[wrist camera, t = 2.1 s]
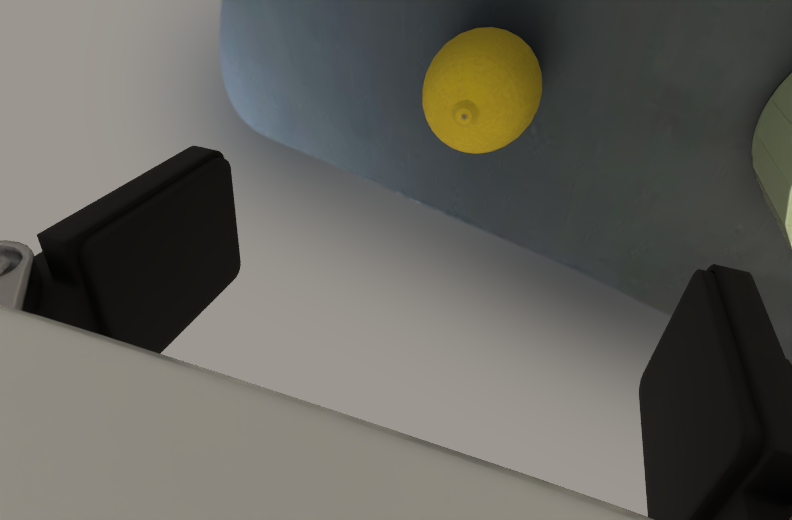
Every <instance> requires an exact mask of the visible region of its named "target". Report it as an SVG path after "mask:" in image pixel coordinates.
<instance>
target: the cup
mask: <svg viewBox="0 0 792 520" xmlns="http://www.w3.org/2000/svg"><path fill="white" fill-rule="evenodd" d="M752 165H753V169H754V173H755V177H756V179H757V181H758V183H759V186H760V189H761V192H762V194H763V196H764V198H765V200H766V202H767V204H768V206H769V208H770V210H771V212H772V214H773V216H774V218H775V220H776V222H777V224H778V226H779V228H780V230H781V231H782V233H783V235H784V237H785V239H786V241H787V243H788V245H789V247H790V249H791V251H792V73H791V74H790V75H789V76H788V77H787V78H786V79H785V80H784V81H783V82H782V84H781V85H780V86H779V87H778V88H777V90H776V91H775V92H774V94H773V95H772V96H771V98H770V99H769V101H768V102H767V104H766V106H765V108H764V110H763V111H762V113H761V115H760V118H759V120H758V123H757V125H756V128H755V133H754V137H753V142H752Z"/></svg>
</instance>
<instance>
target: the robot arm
mask: <svg viewBox="0 0 792 520" xmlns="http://www.w3.org/2000/svg"><path fill="white" fill-rule="evenodd" d="M37 237H38V239H39V242H40V245H41V248H42V251H43V252H41V253H39V254H38V255H36V256H34V254H33V252H32V250H31V249H30V248H29V247H28V246H27V245H24V244H22V243H19V242H14V241H0V520H792V365H791V363H790V362H789V360H787V359H786V358H785V356H784V353H783V351H782V348H781V346H780V343H779V341H778V339H777V336H776V334H775V331H774V329H773V326H772V324H771V321H770V319H769V316H768V314H767V312H766V309H765V307H764V304H763V302H762V299H761V297H760V294H759V292H758V289H757V287H756V284H755V282H754V280H753V277H752V275H751V274H750V273H749V272H745V271H741V270H737V269H732V268H728V267H723V266H719V265H715V264H713V265H711V266H710V267H709V268H708V269H707V271H705V270H700V269H698V270H696V272H695V273H694V274H693V276H692V278H691V280H690V282H689V284H688V286H687V288H686V290H685V292H684V294H683V296H682V298H681V300H680V302H679V303H678V305H677V307H676V309H675V311H674V313H673V315H672V317H671V319H670V322H669V323H668V325H667V327H666V329H665V331H664V333H663V335H662V337H661V339H660V341H659V343H658V345H657V347H656V349H655V351H654V353H653V355H652V357H651V360H650V361H649V363H648V365H647V367H646V369H645V371H644V373H643V375H642V378H641V381H640V387H639V400H640V413H641V427H642V441H643V454H644V467H645V481H646V495H647V508H648V517H646V516H643V515H640V514H637V513H635V512H632V511H629V510H627V509H624V508H621V507H618V506H615V505H612V504H610V503H607V502H604V501H601V500H598V499H595V498H592V497H589V496H586V495H584V494H581V493H578V492H575V491H572V490H569V489H566V488H563V487H561V486H558V485H555V484H552V483H549V482H546V481H543V480H540V479H538V478H535V477H531V476H529V475H525V474H523V473H519V472H517V471H514V470H511V469H508V468H504V467H502V466H499V465H496V464H493V463H490V462H487V461H484V460H481V459H478V458H475V457H472V456H469V455H465V454H463V453H460V452H457V451H454V450H451V449H448V448H445V447H442V446H439V445H436V444H433V443H430V442H427V441H424V440H421V439H418V438H415V437H412V436H409V435H406V434H403V433H400V432H397V431H394V430H391V429H388V428H385V427H382V426H379V425H376V424H373V423H370V422H367V421H364V420H361V419H358V418H355V417H352V416H349V415H346V414H343V413H340V412H337V411H333V410H331V409H327V408H325V407H321V406H318V405H315V404H312V403H309V402H306V401H303V400H300V399H297V398H294V397H291V396H288V395H285V394H282V393H279V392H276V391H273V390H269V389H267V388H264V387H260V386H257V385H254V384H251V383H248V382H245V381H242V380H239V379H236V378H233V377H230V376H226V375H224V374H221V373H217V372H215V371H212V370H208V369H205V368H202V367H199V366H196V365H193V364H190V363H187V362H184V361H180V360H177V359H174V358H171V357H168V356H165V355H162V354H160V353H161V352H162V351H163V350H164V349H165V348H166V347H167V346H168V345H169V344H170V343H171V342H172V341H173V340H174V339H175V338H176V337H177V336H178V335H179V334H180V333H181V332H182V331H183V330H184V329H185V328H186V327H187V326H188V325H189V324H190V323H191V322H192V321H193V320H194V319H195V318H196V317H197V316H198V315H199V314H200V313H201V312H202V311H203V310H204V309H205V308H206V307H207V306H208V305H209V304H210V303H211V302H212V301H213V300H214V299H215V298H216V297H217V296H218V295H219V294H220V293H221V292H222V291H223V290H224V289H225V288H226V287H227V286H228V285H229V284H230V283H231V282H232V281H233V280H234V279H235V278H236V277H237V275H238V273H239V270H240V253H239V243H238V234H237V225H236V215H235V205H234V195H233V186H232V176H231V167H230V164H229V162H228V161H227V160H225V159H224V157H223V154H222V153H221V152H219V151H215V150H211V149H207V148H203V147H198V146H191V147H189V148H187V149H186V150H184V151H182V152H180V153H179V154H177V155H175V156H173V157H172V158H170V159H168V160H166V161H165V162H163V163H161V164H159V165H158V166H156V167H154V168H152V169H151V170H149V171H147V172H145V173H144V174H142V175H141V176H138V177H137V178H135V179H133V180H132V181H130V182H128V183H126V184H125V185H123V186H121V187H119V188H118V189H116V190H114V191H112V192H111V193H109V194H107V195H105V196H104V197H102V198H100V199H98V200H97V201H95V202H93V203H92V204H90V205H88V206H86V207H84V208H83V209H81V210H79V211H78V212H76V213H74V214H72V215H70V216H69V217H67V218H65V219H63V220H62V221H60V222H58V223H56V224H55V225H53V226H51V227H50V228H48V229H46V230H44V231H43V232H41V233H39V234H37Z"/></svg>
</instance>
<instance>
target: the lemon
mask: <svg viewBox="0 0 792 520" xmlns="http://www.w3.org/2000/svg"><path fill="white" fill-rule="evenodd" d="M541 94H542V73H541V70H540V67H539V63H538V60H537V58H536V56H535V55H534V53H533V51H532V50H531V48H530V46H528V45H527V44H526V43H525V42H524V41H523V40H522V39H521V38H520V37H519V36H517V35H515V34H513V33H511V32H509V31H507V30H503V29H499V28H494V27H484V28H475V29H472V30H469V31H466V32H463V33H461V34H459V35H458V36H456V37H455V38H453V39H452V40H450V41H449V42H447V43H446V44H445V45H444V46H443V47H442V49H441V50H440V51H439V52H438V53H437V54H436V55H435V57H434V58H433V60H432V62H431V64H430V66H429V68H428V70H427V73H426V76H425V80H424V85H423V90H422V97H423V109H424V113H425V117H426V120H427V121H428V123H429V125H430V127H431V129H432V131H433V132H434V133H435V134H436V135H437V137H438V138H439V139H440V140H441V141H443V142H444V143H445V144H447V145H448V146H450V147H452V148H454V149H457V150H459V151H462V152H468V153H475V154H477V153H486V152H491V151H494V150H496V149H499V148H502V147H504V146H506V145H507V144H509V143H510V142H512V141H513V140H515V139H516V138H517V137H519V136H520V135H521V133H522V132H523V131H524V130H525V129H526V128H527V127H528V125H529V124H530V123H531V121H532V119H533V117H534V115H535V113H536V111H537V110H538V107H539V103H540V99H541Z"/></svg>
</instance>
